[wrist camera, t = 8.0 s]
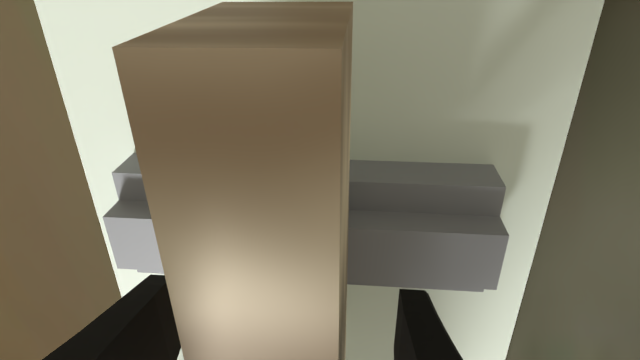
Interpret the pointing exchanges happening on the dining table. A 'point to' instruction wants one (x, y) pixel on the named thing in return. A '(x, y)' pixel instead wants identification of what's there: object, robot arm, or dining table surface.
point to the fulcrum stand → (380, 149)
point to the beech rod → (248, 173)
